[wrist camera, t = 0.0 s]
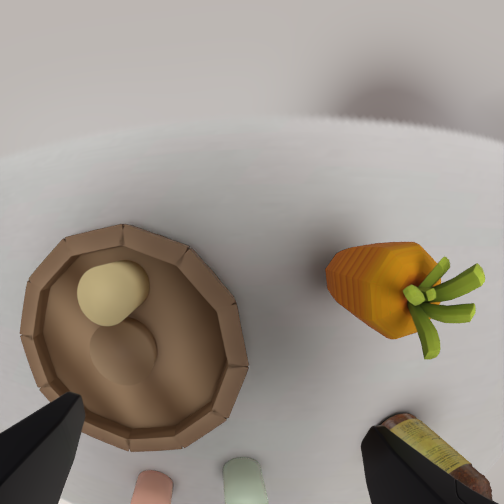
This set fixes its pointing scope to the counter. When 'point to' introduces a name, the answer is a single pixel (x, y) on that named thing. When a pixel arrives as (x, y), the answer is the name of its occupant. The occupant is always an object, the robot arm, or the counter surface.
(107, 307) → the bead mustard
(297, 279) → the counter surface
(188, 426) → the groove tray
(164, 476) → the bead coral
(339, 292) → the carrot
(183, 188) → the counter surface
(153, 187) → the counter surface
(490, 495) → the sauce bottle
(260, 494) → the bead sage
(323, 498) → the counter surface
